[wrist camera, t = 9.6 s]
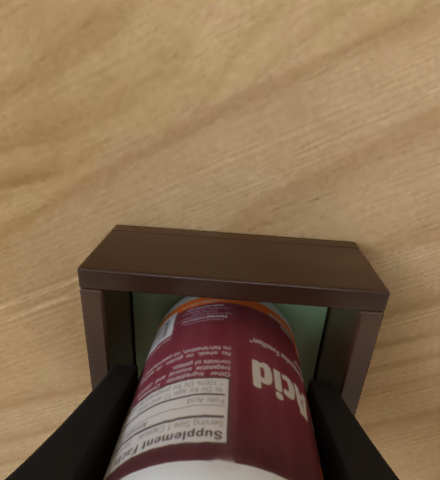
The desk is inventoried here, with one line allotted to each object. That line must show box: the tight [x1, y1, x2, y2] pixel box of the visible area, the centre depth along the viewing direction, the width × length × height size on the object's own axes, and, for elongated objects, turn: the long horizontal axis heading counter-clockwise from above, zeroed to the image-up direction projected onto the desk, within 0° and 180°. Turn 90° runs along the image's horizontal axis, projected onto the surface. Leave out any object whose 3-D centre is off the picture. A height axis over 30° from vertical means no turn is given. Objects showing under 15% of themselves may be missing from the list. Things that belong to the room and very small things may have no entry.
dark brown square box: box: [78, 225, 390, 416], centre depth 12 cm, size 8×8×3 cm
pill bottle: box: [103, 296, 324, 480], centre depth 8 cm, size 5×5×8 cm
